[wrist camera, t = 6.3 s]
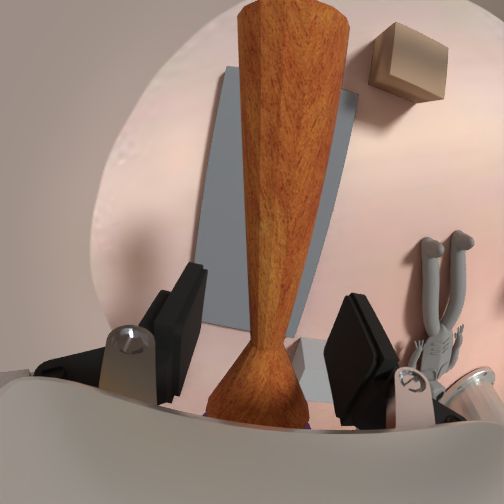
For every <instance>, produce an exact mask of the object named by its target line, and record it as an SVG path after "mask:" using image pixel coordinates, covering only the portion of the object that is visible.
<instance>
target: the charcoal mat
mask: <svg viewBox="0 0 504 504" xmlns="http://www.w3.org/2000/svg"><path fill="white" fill-rule="evenodd" d="M357 101H358V94H355V93H352V92H349V91H345V90H342V89H341V94H340V100H339V106H338V112H337V118H336V124H335V129H334V135H333V140H332V145H331V150H330V156H329V161H328V166H327V170H326V175H325V180H324V185H323V189H322V194H321V199H320V203H319V208H318V212H317V216H316V221H315V225H314V229H313V234H312V238H311V242H310V246H309V250H308V254H307V258H306V262H305V266H304V270H303V274H302V278H301V281H300V285H299V289H298V293H297V296H296V300H295V304H294V307H293V311H292V315H291V318H290V322H289V325H288V329H287V332H286V335H285V337H290V338H294V337H295V334H296V331H297V328H298V325H299V322H300V319H301V316H302V313H303V310H304V307H305V304H306V301H307V298H308V294H309V291H310V288H311V285H312V282H313V278H314V275H315V272H316V268H317V265H318V262H319V258H320V255H321V251H322V248H323V244H324V241H325V237H326V234H327V230H328V227H329V223H330V219H331V215H332V212H333V208H334V204H335V200H336V196H337V192H338V188H339V184H340V180H341V176H342V171H343V167H344V163H345V159H346V154H347V150H348V145H349V140H350V136H351V131H352V126H353V121H354V116H355V111H356V106H357ZM194 263H197V264H201V265H203V269H207V270H208V275H207V282H206V290H205V297H204V305H203V313H202V322H206V323H211V324H216V325H221V326H226V327H231V328H236V329H242V330H247V331H250V315H249V294H248V273H247V251H246V228H245V205H244V181H243V157H242V132H241V106H240V79H239V67H231V66H227V67H226V71H225V76H224V81H223V85H222V90H221V95H220V100H219V105H218V110H217V116H216V121H215V126H214V132H213V137H212V143H211V149H210V155H209V160H208V167H207V173H206V179H205V186H204V192H203V199H202V206H201V213H200V221H199V228H198V236H197V244H196V252H195V261H194Z"/></svg>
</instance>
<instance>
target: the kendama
mask: <svg viewBox="0 0 504 504" xmlns="http://www.w3.org/2000/svg"><path fill="white" fill-rule="evenodd" d="M237 20H238V50H239V79H240V106H241V132H242V157H243V181H244V205H245V228H246V251H247V273H248V294H249V315H250V336H251V340H250V342H249V343H248V344H247V346H246V347H245V349H244V350H243V351H242V353H241V354H240V356H239V357H238V358H237V360H236V361H235V362H234V364H233V365H232V367H231V368H230V369H229V371H228V372H227V373H226V375H225V376H224V378H223V379H222V380H221V382H220V383H219V384H218V386H217V387H216V388H215V390H214V391H213V392H212V394H211V395H210V396H209V399H208V403H207V407H206V412H205V413H204V414H203V416H205V417H210V418H216V419H221V420H227V421H233V422H240V423H247V424H255V425H263V426H272V427H282V428H294V429H311V427H310V425H309V423H308V421H309V410H308V404H307V401H306V399H305V396H304V394H303V391H302V389H301V386H300V384H299V381H298V379H297V377H296V374H295V372H294V369H293V367H292V364H291V362H290V359H289V357H288V354H287V352H286V349H285V347H284V344H283V342H284V339H285V335H286V332H287V329H288V325H289V322H290V318H291V315H292V311H293V307H294V304H295V300H296V296H297V293H298V289H299V285H300V281H301V278H302V274H303V270H304V266H305V262H306V258H307V254H308V250H309V246H310V242H311V238H312V234H313V229H314V225H315V221H316V216H317V212H318V208H319V203H320V199H321V194H322V189H323V185H324V180H325V175H326V170H327V166H328V161H329V156H330V150H331V145H332V140H333V135H334V129H335V124H336V118H337V112H338V106H339V100H340V94H341V88H342V82H343V75H344V68H345V61H346V54H347V47H348V39H349V31H350V27H349V24H348V21H347V18H346V17H345V16H344V15H343V14H342V13H340V12H339V11H338V10H336V9H335V8H334V7H332V6H330V5H327V4H324V3H322V2H319V1H316V0H257V1H255V2H253V3H251V4H248V5H246V6H244V8H243V9H242V10H241V11H240V13H239V14H238V16H237Z"/></svg>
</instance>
